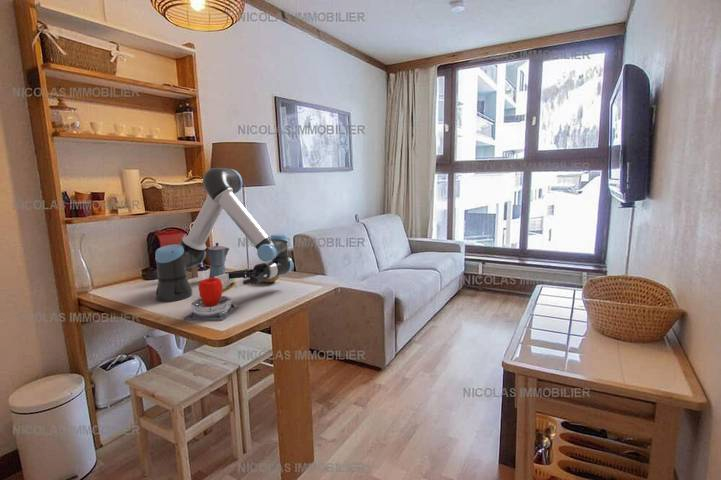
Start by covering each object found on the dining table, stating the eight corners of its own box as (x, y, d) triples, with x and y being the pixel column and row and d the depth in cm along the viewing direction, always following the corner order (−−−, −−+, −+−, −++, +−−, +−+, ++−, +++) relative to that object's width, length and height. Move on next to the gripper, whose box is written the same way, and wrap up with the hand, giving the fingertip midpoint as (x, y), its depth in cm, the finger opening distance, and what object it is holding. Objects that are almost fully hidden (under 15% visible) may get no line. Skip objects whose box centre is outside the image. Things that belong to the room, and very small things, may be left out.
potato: (263, 278, 201) (262, 264, 199) (285, 280, 195) (284, 266, 193) (251, 283, 192) (250, 268, 191) (273, 285, 186) (272, 270, 185)
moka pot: (231, 280, 198) (228, 243, 195) (200, 282, 195) (196, 245, 192) (233, 276, 207) (230, 240, 204) (203, 278, 204) (200, 242, 201)
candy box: (216, 296, 171) (215, 279, 170) (212, 296, 172) (211, 279, 170) (235, 286, 187) (234, 270, 185) (232, 286, 187) (230, 270, 186)
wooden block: (198, 276, 208) (195, 245, 205) (180, 281, 199) (176, 248, 196) (194, 275, 210) (191, 244, 207) (176, 280, 201) (172, 247, 198)
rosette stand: (184, 320, 142) (183, 307, 141) (204, 306, 157) (203, 295, 156) (222, 320, 141) (221, 307, 140) (238, 307, 156) (237, 295, 155)
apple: (220, 308, 144) (217, 281, 143) (196, 309, 144) (194, 282, 142) (226, 300, 153) (224, 275, 151) (204, 301, 152) (202, 276, 151)
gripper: (284, 282, 163) (245, 295, 146) (247, 275, 177) (207, 286, 160) (283, 265, 162) (244, 277, 145) (246, 260, 176) (206, 269, 159)
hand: (224, 282), depth 152 cm, fingers open, 13 cm apart
